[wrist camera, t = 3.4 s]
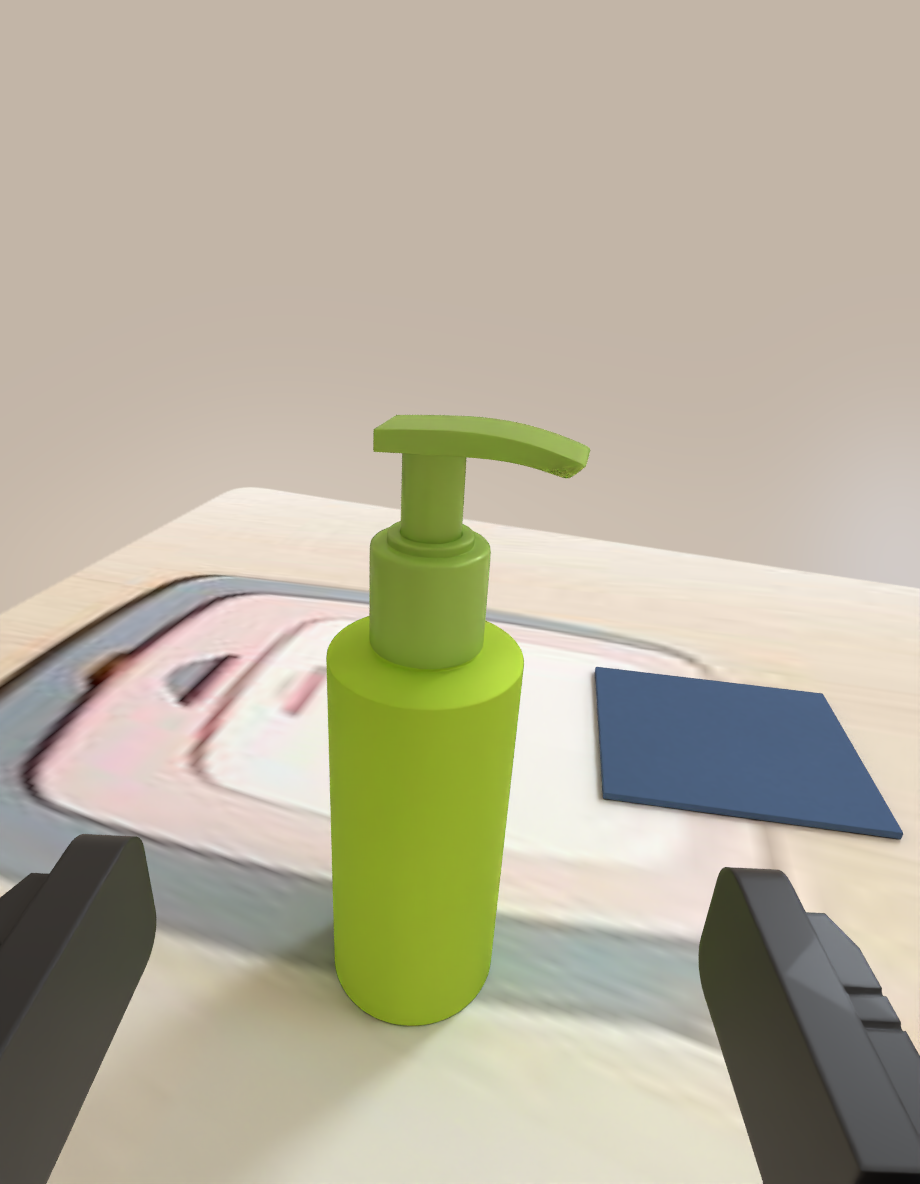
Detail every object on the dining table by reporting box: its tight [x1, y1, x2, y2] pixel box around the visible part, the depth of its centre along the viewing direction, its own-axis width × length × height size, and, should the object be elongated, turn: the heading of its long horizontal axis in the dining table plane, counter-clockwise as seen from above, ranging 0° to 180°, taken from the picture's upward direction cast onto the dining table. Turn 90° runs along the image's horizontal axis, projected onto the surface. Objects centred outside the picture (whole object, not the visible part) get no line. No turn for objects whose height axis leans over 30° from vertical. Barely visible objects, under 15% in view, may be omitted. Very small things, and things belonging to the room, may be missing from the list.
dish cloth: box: [595, 667, 903, 839], centre depth 40 cm, size 14×12×1 cm
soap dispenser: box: [326, 415, 590, 1026], centre depth 23 cm, size 6×7×20 cm
